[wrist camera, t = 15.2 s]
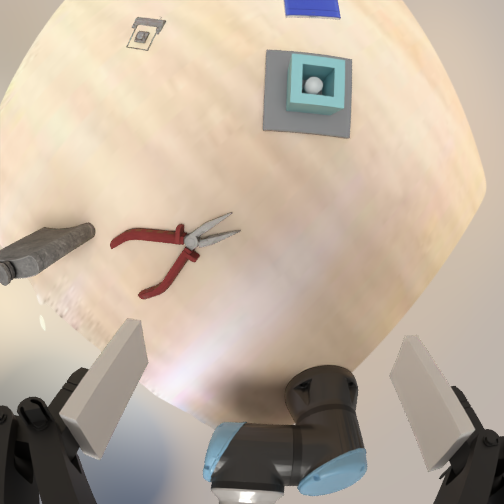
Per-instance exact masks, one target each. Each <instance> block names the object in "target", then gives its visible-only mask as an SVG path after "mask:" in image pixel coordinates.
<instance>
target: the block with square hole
mask: <svg viewBox="0 0 504 504" xmlns="http://www.w3.org/2000/svg"><path fill="white" fill-rule="evenodd" d="M310 77H317V78H319V79H320V80H321V81H322V83H323V87H322V95H315V94H306V93H302V80H308V79H309V78H310ZM344 96H345V60H340V59H334V58H327V57H320V56H311V55H302V54H292V56H291V59H290V63H289V67H288V74H287V99H286V111H292V112H303V113H313V114H322V115H332V114H334V113H336V112H338V111H340V110H342V109H344Z"/></svg>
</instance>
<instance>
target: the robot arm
mask: <svg viewBox="0 0 504 504" xmlns="http://www.w3.org/2000/svg"><path fill="white" fill-rule="evenodd" d="M147 364H148V358H147V353H146V348H145V342H144V336H143V330H142V324H141V320H135V319H129V318H127V319H126V320H125V322H124V323H123V324H122V326H121V327H120V328H119V330H118V331H117V332H116V334H115V335H114V336H113V338H112V339H111V340H110V342H109V343H108V344H107V346H106V347H105V348H104V350H103V351H102V352H101V354H100V355H99V357H98V358H97V359H96V361H95V362H94V363H93V365H92V366H91V368H90V369H86V368H82V367H81V368H80V369H78V370H77V371H75V372H74V373H73V374H72V375H71V376H70V377H69V379H68V380H67V383H65V384H64V386H63V387H62V389H61V390H60V391H59V392H58V394H57V395H56V397H55V398H54V399H53V401H52V402H51V404H50V405H49V406H48V407H47V405H46V404H45V402H44V401H43V400H42V399H40V398H38V397H29V398H26V399H24V400H23V401H22V402H20V404H19V406H18V409H17V413H18V414H19V416H16V415H14V414H13V413H12V411H11V410H10V409H9V408H8V407H7V406H0V504H39V494H40V497H41V501H42V504H97V503H96V501H95V498H94V496H93V494H92V491H91V489H90V486H89V484H88V481H87V479H86V476H85V473H84V470H83V468H82V465H81V462H80V459H79V456H78V455H77V451H78V449H79V447H80V448H81V450H82V451H83V453H84V454H85V455H88V456H91V457H93V458H96V459H99V460H101V458H102V456H103V453H104V451H105V449H106V447H107V445H108V443H109V441H110V439H111V436H112V434H113V432H114V430H115V428H116V426H117V424H118V422H119V420H120V418H121V416H122V414H123V412H124V410H125V408H126V406H127V404H128V402H129V400H130V398H131V396H132V394H133V391H134V390H135V388H136V386H137V384H138V382H139V380H140V378H141V376H142V374H143V372H144V370H145V368H146V366H147ZM390 378H391V381H392V383H393V385H394V387H395V390H396V392H397V394H398V397H399V399H400V401H401V404H402V406H403V408H404V411H405V413H406V416H407V418H408V421H409V423H410V425H411V428H412V430H413V433H414V435H415V437H416V441H417V443H418V446H419V448H420V451H421V454H422V456H423V459H424V462H425V465H426V467H427V470H428V472H430V471H433V470H436V469H440V468H442V467H443V466H444V465H445V464H446V463H447V462H448V461H450V464H451V466H450V467H449V468H448V469H447V470H446V471H445V472H444V473H443V474H442V475H441V476H440V478H439V479H441V478H443V477H444V476H445V478H444V480H443V483H442V485H441V487H440V490H439V492H438V495H437V497H436V499H435V501H434V503H433V504H504V436H502V437H501V436H500V437H499V436H498V434H497V433H496V432H494V431H493V430H489V429H486V430H485V429H484V428H483V426H482V424H481V422H480V421H479V419H478V417H477V416H476V414H475V412H474V410H473V409H472V408H471V405H470V404H469V402H468V401H467V399H466V397H465V395H464V394H463V392H462V391H460V390H459V389H458V388H457V387H456V386H450V385H449V383H448V382H447V381H446V379H445V377H444V375H443V374H442V372H441V370H440V369H439V367H438V366H437V364H436V363H435V361H434V360H433V358H432V357H431V355H430V354H429V352H428V351H427V349H426V348H425V346H424V345H423V343H422V342H421V340H420V339H419V337H418V336H405V338H404V341H403V343H402V346H401V349H400V351H399V354H398V356H397V359H396V361H395V364H394V366H393V369H392V371H391V373H390ZM357 396H358V386H357V383H356V379H355V377H354V375H353V374H352V373H351V372H350V371H348V370H346V369H344V368H342V367H338V366H320V367H315V368H311V369H308V370H306V371H304V372H302V373H300V374H298V375H297V376H295V377H294V378H293V379H292V380H291V381H290V382H289V384H288V385H287V387H286V391H285V401H286V406H287V408H288V410H289V412H290V414H291V416H292V418H293V420H294V422H295V424H296V425H273V424H255V423H247V422H242V423H237V422H224V423H222V424H220V425H219V426H218V427H217V428H216V429H215V431H214V433H213V435H212V438H211V440H210V443H209V446H208V449H207V453H206V457H205V465H204V469H203V477H204V479H205V480H207V481H208V482H212V485H211V491H212V492H213V493H214V495H215V496H216V497H217V498H218V500H219V504H275V502H276V501H277V500H279V499H280V498H281V497H282V496H283V495H284V486H298V487H297V488H298V490H299V492H300V493H301V494H303V495H309V496H319V495H325V494H330V493H333V492H337V491H340V490H342V489H345V488H347V487H349V486H351V485H353V484H354V483H356V482H357V481H358V480H360V479H361V478H362V477H363V475H364V474H365V472H366V470H367V460H366V449H365V448H364V444H363V440H362V436H361V432H360V428H359V424H358V420H357V416H356V412H355V410H356V404H357Z"/></svg>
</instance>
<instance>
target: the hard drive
mask: <svg viewBox="0 0 504 504" xmlns="http://www.w3.org/2000/svg"><path fill="white" fill-rule="evenodd" d="M284 7H285V15H286V17H297V18H322V19H335V20H340V18H341V17H340V11H339V5H338V0H284Z"/></svg>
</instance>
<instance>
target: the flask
mask: <svg viewBox="0 0 504 504" xmlns="http://www.w3.org/2000/svg"><path fill="white" fill-rule="evenodd" d="M94 235H95V228H94V226H93V225H92V224H90V223H85V224H83V225H80V226H76V227H71V228H63V229H52V228H46V227H44V228H42V229H40V230H38V231H36V232H34V233H32V234H30V235H28V236H26V237H24V238H22V239H20V240H18V241H16V242H15V243H13V244H11V245H9V246H7V247H5V248H4V249H2V250H0V283H1V284H3V285H5V286H6V285H8V284H9V283H10V281H11V280H13V279H14V278H27V277H32V276H35V275H37V274H38V273H40V272H41V271H43V270H44V269H46V268H47V267H48V266H50V265H51V264H53V263H54V262H56V261H57V260H59V259H60V258H62V257H63V256H65V255H66V254H68V253H69V252H71V251H72V250H74V249H76V248H77V247H79V246H80V245H82V244H83V243H85V242H87V241H88V240H90V239H91V238H93V237H94Z"/></svg>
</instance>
